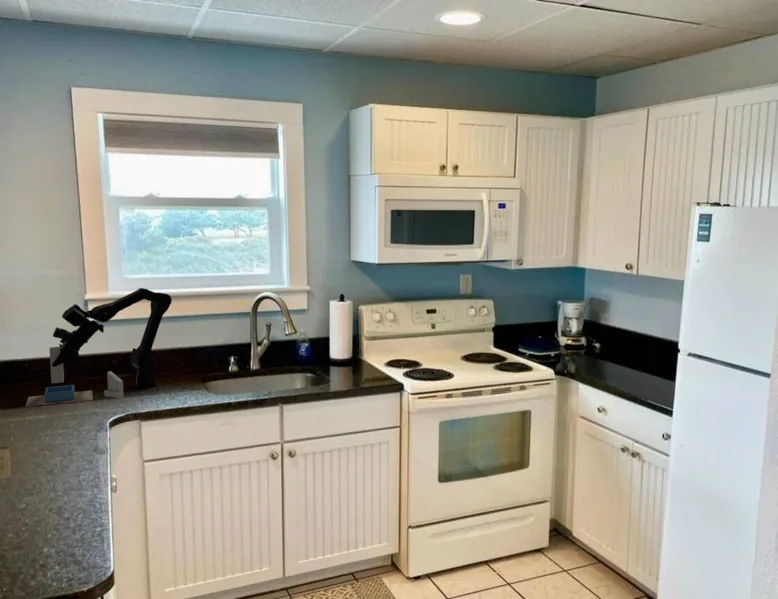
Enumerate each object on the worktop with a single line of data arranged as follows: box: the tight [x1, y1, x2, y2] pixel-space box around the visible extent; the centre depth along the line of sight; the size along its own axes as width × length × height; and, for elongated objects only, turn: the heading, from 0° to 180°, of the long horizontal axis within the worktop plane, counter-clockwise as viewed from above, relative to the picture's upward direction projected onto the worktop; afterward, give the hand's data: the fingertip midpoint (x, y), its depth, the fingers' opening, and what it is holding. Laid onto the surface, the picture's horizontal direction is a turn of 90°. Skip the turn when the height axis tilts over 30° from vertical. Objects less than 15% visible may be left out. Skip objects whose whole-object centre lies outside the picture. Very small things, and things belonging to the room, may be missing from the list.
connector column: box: [49, 346, 65, 384], centre depth 243 cm, size 4×4×13 cm
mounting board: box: [25, 390, 94, 408], centre depth 242 cm, size 22×14×1 cm, turn 116°
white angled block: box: [104, 370, 125, 400], centre depth 246 cm, size 4×10×9 cm, turn 68°
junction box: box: [44, 384, 76, 403], centre depth 242 cm, size 10×10×4 cm
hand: (52, 364), depth 242 cm, fingers closed on connector column, 4 cm apart
